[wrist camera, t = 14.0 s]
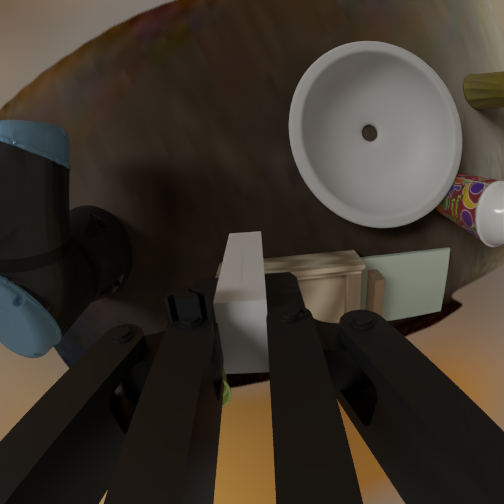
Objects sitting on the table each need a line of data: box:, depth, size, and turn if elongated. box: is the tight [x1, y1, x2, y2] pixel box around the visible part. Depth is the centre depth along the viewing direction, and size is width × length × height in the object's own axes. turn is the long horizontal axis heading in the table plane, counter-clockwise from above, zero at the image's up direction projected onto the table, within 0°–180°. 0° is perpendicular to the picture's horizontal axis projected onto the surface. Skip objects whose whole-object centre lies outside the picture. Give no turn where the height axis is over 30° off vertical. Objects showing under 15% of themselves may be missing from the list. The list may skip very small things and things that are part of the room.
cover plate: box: [360, 247, 450, 321], centre depth 45 cm, size 17×12×5 cm
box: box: [215, 250, 365, 323], centre depth 45 cm, size 20×14×6 cm
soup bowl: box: [289, 41, 462, 228], centre depth 36 cm, size 24×24×7 cm
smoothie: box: [435, 173, 504, 247], centre depth 32 cm, size 8×8×20 cm
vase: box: [464, 72, 504, 110], centre depth 28 cm, size 6×6×14 cm
